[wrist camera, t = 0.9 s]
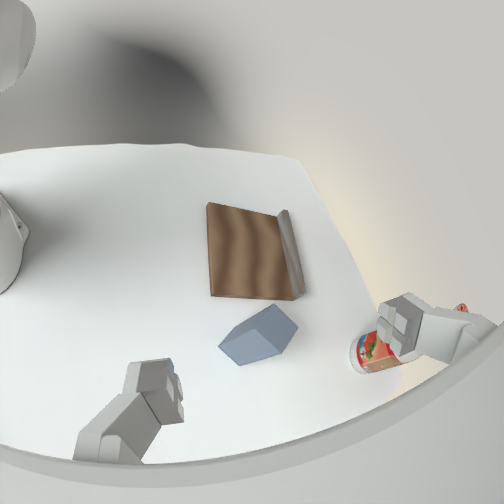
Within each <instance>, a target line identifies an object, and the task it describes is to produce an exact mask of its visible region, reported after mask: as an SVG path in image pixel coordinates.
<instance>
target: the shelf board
mask: <svg viewBox="0 0 504 504" xmlns="http://www.w3.org/2000/svg"><path fill="white" fill-rule="evenodd" d="M206 212H207V237H208V258H209V275H210V291H211V296H215V297H230V298H247V299H266V300H289V301H293V300H295V299H297V298H299V297H300V296H302V295H304V294H305V293H306V288H305V283H304V279H303V274H302V269H301V265H300V260H299V256H298V251H297V247H296V243H295V238H294V234H293V230H292V226H291V221H290V217H289V213H288V210H283V211H282V212H281V213H280V214H279V215H278V216H277V217H275V216H271V215H267V214H262V213H258V212H253V211H249V210H244V209H239V208H235V207H230V206H225V205H221V204H216V203H211V202H209V203H208V204H207V206H206Z"/></svg>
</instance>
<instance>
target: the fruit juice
mask: <svg viewBox="0 0 504 504" xmlns="http://www.w3.org/2000/svg"><path fill="white" fill-rule="evenodd" d="M453 310H456V311H462V312H467V313H469V312H468V309H467V307H466V305H465V304H460V305H458V306H456V308H455V309H453ZM421 355H424V354H421V353H418V352H416V351H415V350H413V351H411V352H409V353H407V354H405V355H403V356H401V357H398V356H397V355H396V354H395V353H394V352H393V351H392V350H391V349H390V344H388V343H384V342H383V341H382V340H381V339H380V338H379V336H378V333H377V330H376V331H374V332H371V333H368V334H366V335H363V336H361V337H358V338H357V339H355V340H354V341H353V343H352V345H351V347H350V360H351V363H352V365H353V367H354V369H355V370H356V371H357V372H359V373H361V374H369V373H373V372H377V371H381V370H384V369H388V368H392V367H395V366H399V365H402V364H405V363H409V362H412V361H414V360H416V359H418V358H419V357H420V356H421Z"/></svg>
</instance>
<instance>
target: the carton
mask: <svg viewBox="0 0 504 504" xmlns="http://www.w3.org/2000/svg"><path fill="white" fill-rule="evenodd" d="M297 329H298V326H297V325H296V324H295V323H294V322H292V321H291V320H290V319H289V318H288V317H287V316H286V315H285V314H284V313H283V312H282V311H281V310H280V309H279V308H278V307H277V306H276V305H275V304H272V305H270V306H269V307H267V308H265V309H264V310H262V311H261V312H259V313H257V314H256V315H254V316H252V317H251V318H249V319H247V320H246V321H244V322H242V323H241V324H239V325H237V326H236V327H234V328H233V330H232V331H231V332H230V333H229V334H228V335H227V337H226V338H225V339H224V340H223V341H222V342H221V344H220V345H219V346H218V347H219V348H220V349H221V350H222V351H223V352H224V353H225V354H226V355H227V356H228V357H230V358H231V359H232V360H233V361H234V362H235V363H236V364H237V365H239V366H241V365H245V364H249V363H252V362H256V361H259V360H262V359H266V358H269V357H272V356H275V355H278V354H282V352H283V351H284V349H285V348H286V346H287V345H288V343H289V341H290V340H291V338H292V337H293V335H294V334H295V332H296V331H297Z"/></svg>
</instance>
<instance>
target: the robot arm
mask: <svg viewBox="0 0 504 504" xmlns="http://www.w3.org/2000/svg"><path fill="white" fill-rule="evenodd" d="M35 37H36V24H35V19H34V16H33V14H32V12H31V10H30V9H29V7H28V6H27V5H26V4H24V3H23V2H21V1H19V0H0V93H1V92H3V91H4V90H6V89H7V88H9V87H11V86H12V85H14V84H15V83H16V82H17V81H18V79H19V78H20V76H21V75H22V73H23V72H24V70H25V68H26V66H27V64H28V62H29V60H30V57H31V54H32V52H33V48H34V45H35ZM19 227H21V228H20V229H18V228H19ZM28 235H29V230H28V228H27V226H26V225H25V224H24V222H23V221H22V220H21V219H20V218H19V217H18V215H17V214H16V213H15V212H14V211H13V209H12V208H11V207H10V206H9V204H8V203H7V202H6V200H5V199H4V198H3V197H2V195H1V194H0V293H2V292H3V291H4V290H6V289H7V288H8V287H9V286H10V284H11V283H12V282H13V280H14V279H15V277H16V275H17V273H18V271H19V268H20V265H21V261H22V253H23V246H24V243H25V241H26V239H27V237H28ZM378 313H379V315H380V318H379V319H378V321H377V327H376V329H377V333H378V336H379V338H380V339H381V340H382V341H383V342H384V343H388V344H390V349H391V350H392V351H393V352H394V353H395V354H396V355H397V356H398V357H401V356H403V355H405V354H407V353H409V352H411V351H413V350H415V351H416V352H418V353H421V354H424V355H426V356H429V357H431V358H434V359H437V360H439V361H442V362H445V363H447V364H450V365H449V366H448V367H446V368H444V369H443V370H442V371H440V372H438V373H437V374H436V375H434V376H432V377H431V378H429V379H428V380H426V381H424V382H423V383H421V384H420V385H418V386H416V387H414V388H413V389H411V390H409V391H407V392H406V393H404V394H402V395H400V396H398V397H397V398H395V399H393V400H391V401H389V402H387V403H385V404H383V405H381V406H379V407H377V408H375V409H373V410H371V411H369V412H366V413H364V414H362V415H360V416H358V417H355V418H353V419H351V420H348V421H346V422H343V423H341V424H338V425H336V426H333V427H331V428H328V429H325V430H323V431H320V432H317V433H314V434H311V435H308V436H305V437H302V438H299V439H296V440H293V441H289V442H286V443H282V444H279V445H275V446H271V447H267V448H263V449H259V450H255V451H250V452H246V453H241V454H236V455H231V456H225V457H219V458H212V459H205V460H197V461H188V462H178V463H163V464H144V463H143V462H142V461H141V459H142V457H143V455H144V454H145V452H146V451H147V449H148V447H149V446H150V444H151V443H152V441H153V440H154V438H155V436H156V435H157V433H158V431H159V430H160V428H161V425H168V424H176V423H182V422H184V410H183V406H182V404H181V401H182V400H183V392H182V387H181V383H180V380H179V377H178V375H177V374H175V373H174V365H173V363H172V361H171V359H170V358H163V359H155V360H147V361H139V362H131V363H129V365H128V368H127V373H126V377H125V382H124V387H123V392H122V394H118V395H117V396H116V397H115V398H114V399H113V400H112V401H111V402H110V403H109V404H108V405H107V406H106V407H105V408H104V409H103V410H102V411H101V412H100V413H99V414H98V415H97V416H96V417H95V418H94V419H93V420H92V421H91V422H90V423H89V424H87V425H86V426H85V427H84V428H83V429H82V430H81V431H80V432H79V434H78V438H77V442H76V447H75V451H74V456H73V460H69V459H62V458H56V457H50V456H45V455H40V454H36V453H31V452H27V451H23V450H19V449H16V448H13V447H9V446H6V445H3V444H0V504H504V322H503V323H502V324H500V325H499V326H497V325H495V324H494V323H492V322H491V321H489V320H488V319H486V318H485V317H483V316H482V315H479V314H473V313H467V312H462V311H456V310H450V309H445V308H439V307H435V308H433V307H432V306H430V305H429V304H427V303H426V302H424V301H423V300H421V299H419V298H418V297H417V296H415V295H414V294H412V293H406V294H403V295H401V296H399V297H397V298H394V299H392V300H389V301H386V302H384V303H381V304H380V306H379V310H378Z"/></svg>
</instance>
